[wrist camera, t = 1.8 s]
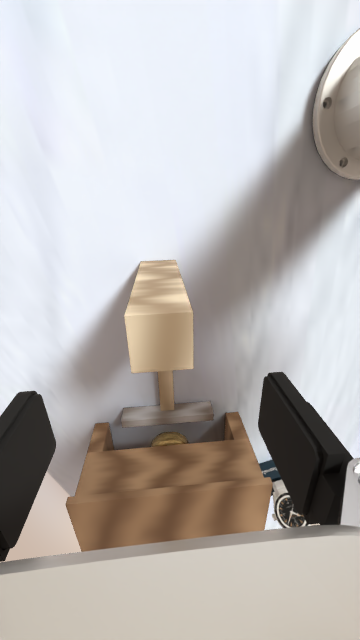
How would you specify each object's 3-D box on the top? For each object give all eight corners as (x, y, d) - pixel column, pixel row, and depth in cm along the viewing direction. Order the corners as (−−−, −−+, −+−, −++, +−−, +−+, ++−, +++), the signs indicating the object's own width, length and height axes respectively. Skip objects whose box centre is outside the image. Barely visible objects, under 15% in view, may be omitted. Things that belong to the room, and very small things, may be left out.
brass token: (187, 429, 41) (189, 441, 39) (188, 455, 43) (189, 468, 41) (150, 432, 40) (149, 445, 38) (152, 458, 43) (152, 471, 41)
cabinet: (241, 408, 40) (272, 484, 29) (236, 461, 45) (261, 542, 34) (91, 420, 38) (65, 504, 27) (103, 473, 43) (85, 562, 32)
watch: (281, 448, 44) (318, 519, 34) (290, 476, 47) (325, 548, 37) (250, 458, 45) (277, 531, 35) (261, 485, 48) (288, 559, 38)
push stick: (213, 258, 30) (267, 307, 15) (210, 407, 39) (241, 526, 24) (101, 263, 29) (43, 320, 14) (124, 414, 38) (103, 542, 24)
